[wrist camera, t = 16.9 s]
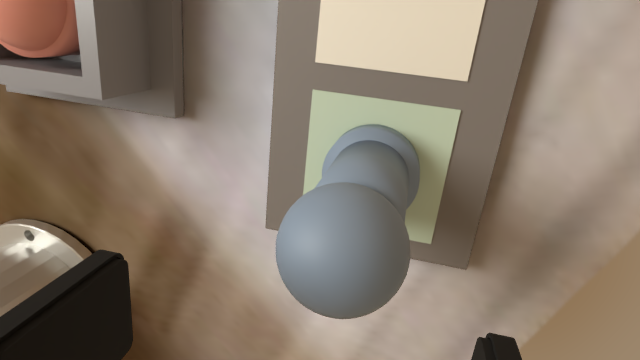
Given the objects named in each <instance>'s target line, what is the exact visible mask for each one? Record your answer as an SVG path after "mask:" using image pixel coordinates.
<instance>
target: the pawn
mask: <svg viewBox="0 0 640 360" xmlns="http://www.w3.org/2000/svg"><path fill="white" fill-rule="evenodd" d="M419 181H420V164H419V158H418V155H417V153H416V150H415V148H414V147H413V145H412V144H411V142H410V141H409V140H408V139H407V138H406V137H405V136H404V135H403V134H401V133H400V132H398V131H397V130H395V129H393V128H390V127H388V126H384V125H379V124H366V125H361V126H357V127H355V128H353V129H350V130H349V131H347V132H346V133H344V134H343V135H342V136H341V137H340V138H339V139H338V140H337V141H336V142H335V144H334V145H333V146H332V147H331V149H330V150H329V152H328V153H327V155H326V157H325V160H324V163H323V167H322V178H321V180H320V181H319V183H318V184H317V185H316V187H315V188H314V189H313V190H311V191H309V192H307V193H306V194H304V195H303V196H302V197H300V198H299V199H298V200H297V201H296V202H295V203H294V204H293V205H292V206H291V207H290V209H289V210H288V212H287V213H286V215H285V216H284V218H283V220H282V222H281V224H280V228H279V231H278V234H277V239H276V261H277V265H278V269H279V273H280V275H281V278H282V280H283V282H284V284H285V285H286V287H287V289H288V290H289V291H290V293H291V294H292V295H293V296H294V297H295V299H296V300H297V301H299V302H300V303H301V304H302V305H303V306H305V307H306V308H308V309H310V310H311V311H313V312H315V313H318V314H320V315H323V316H326V317H330V318H336V319H351V318H357V317H361V316H365V315H367V314H370V313H372V312H374V311H376V310H377V309H379V308H381V307H382V306H384V305H385V304H386V303H387V302H389V301H390V299H391V298H392V297H393V296H394V295H395V294H396V293H397V291H398V290H399V288H400V287H401V285H402V283H403V281H404V279H405V277H406V275H407V271H408V268H409V263H410V240H409V234H408V231H407V228H406V226H405V216H406V209H408V207H409V206H410V205H411V204H412V202H413V200H414V199H415V197H416V194H417V192H418V188H419Z"/></svg>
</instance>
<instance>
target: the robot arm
mask: <svg viewBox="0 0 640 360" xmlns="http://www.w3.org/2000/svg"><path fill="white" fill-rule="evenodd" d="M132 341H133V332H132V317H131V301H130V286H129V271H128V263H127V261H125V260H124V257H123V256H122V255H121V254H120V253H115V252H110V251H106V250H98V251H96V252H94V253H93V254H92V253H91V252H90V251H89V250H88V249H87V248H86V247H85V246H84V245H82V244H81V243H80V242H79V241H78V240H77V239H75V238H74V237H72V236H71V235H69V234H68V233H66V232H65V231H63V230H61V229H59V228H57V227H55V226H52V225H50V224H48V223H44V222H41V221H37V220H30V219H18V220H11V221H8V222H6V223H4V224H1V225H0V360H121V359H122V358H123V357H124V356H125V354H126V353H127V352H128V351H129V349H130V347H131V345H132ZM471 360H522V358H521V355H520V352H519V349H518V346H517V344H516V341H515V339H514V338H511V337H507V336H502V335H497V334H493V333H488V334H487V335H486V338H482V337H479V338H478V339H477V342H476V345H475V349H474V352H473V356H472V359H471Z"/></svg>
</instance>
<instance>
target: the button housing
mask: <svg viewBox="0 0 640 360" xmlns="http://www.w3.org/2000/svg"><path fill="white" fill-rule="evenodd" d="M74 1H75V10H76V20H77V29H78V38H79V48H80V55H67V56H54V57H40V58H29V57H24V56H21V55H18V54H15V53H14V52H12V51H10V50H8V49H7V48H5V47H4V46H3V45H1V44H0V84H5V85H6V89H7V91H10V92H16V93H22V94H29V95H35V96H41V97H47V98H53V99H59V100H65V101H71V102H78V103H84V104H90V105H96V106H102V107H108V108H114V109H121V110H127V111H133V112H139V113H145V114H151V115H157V116H163V117H170V118H177V117H180V116H183V115H184V93H183V44H182V0H74Z"/></svg>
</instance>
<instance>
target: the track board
mask: <svg viewBox="0 0 640 360" xmlns="http://www.w3.org/2000/svg"><path fill="white" fill-rule="evenodd" d="M537 3H538V0H279V2H278V20H277V37H276V54H275V72H274V89H273V107H272V124H271V141H270V159H269V176H268V193H267V211H266V228H267V229H272V230H277V231H279V228H280V224H281V222H282V220H283V218H284V216H285V215H286V213H287V212H288V210H289V209H290V207H291V206H292V205H293V204H294V203H295V202H296V201H297V200H298V199H299V198H300V197H302V196H303V195H304V194H306V193H307V192H309V191H311V190H313V189H314V188H315V187H316V185H317V184H318V183H319V181H320V180H321V178H322V167H323V163H324V160H325V157H326V155H327V153H328V152H329V150H330V149H331V147H332V146H333V145H334V144H335V142H336V141H337V140H338V139H339V138H340V137H341V136H342V135H343V134H344V133H346V132H347V131H349V130H350V129H353V128H355V127H357V126H361V125H366V124H379V125H384V126H388V127H390V128H393V129H395V130H397V131H398V132H400V133H401V134H403V135H404V136H405V137H406V138H407V139H408V140H409V141H410V142H411V144H412V145H413V147H414V148H415V150H416V153H417V155H418V158H419V164H420V181H419V188H418V192H417V194H416V197H415V199H414V200H413V202H412V204H411V205H410V206H409V207H408V209H406V216H405V226H406V228H407V231H408V234H409V240H410V258H412V259H417V260H421V261H426V262H431V263H436V264H441V265H445V266H450V267H455V268H460V269H465V270H466V269H467V266H468V262H469V258H470V254H471V251H472V247H473V243H474V239H475V236H476V232H477V228H478V224H479V221H480V217H481V213H482V209H483V206H484V202H485V198H486V194H487V191H488V187H489V183H490V179H491V176H492V172H493V168H494V164H495V161H496V157H497V153H498V149H499V146H500V142H501V138H502V134H503V131H504V127H505V123H506V119H507V116H508V112H509V108H510V104H511V100H512V97H513V93H514V89H515V85H516V82H517V78H518V74H519V70H520V67H521V63H522V59H523V55H524V52H525V48H526V44H527V40H528V37H529V33H530V29H531V25H532V22H533V18H534V14H535V10H536V7H537Z"/></svg>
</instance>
